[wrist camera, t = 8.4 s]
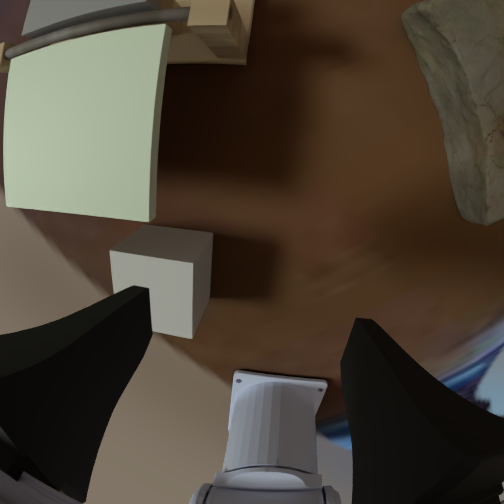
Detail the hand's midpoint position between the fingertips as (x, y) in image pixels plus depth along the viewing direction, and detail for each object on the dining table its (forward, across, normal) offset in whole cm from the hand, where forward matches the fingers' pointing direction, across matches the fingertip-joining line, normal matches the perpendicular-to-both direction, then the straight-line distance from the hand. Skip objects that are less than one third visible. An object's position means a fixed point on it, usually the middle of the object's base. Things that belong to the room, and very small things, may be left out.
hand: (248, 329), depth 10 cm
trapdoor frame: (+10, +10, -13) cm, 19 cm away
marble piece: (+11, -15, -14) cm, 23 cm away
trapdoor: (+5, +10, -8) cm, 14 cm away
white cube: (+8, +6, +3) cm, 10 cm away
